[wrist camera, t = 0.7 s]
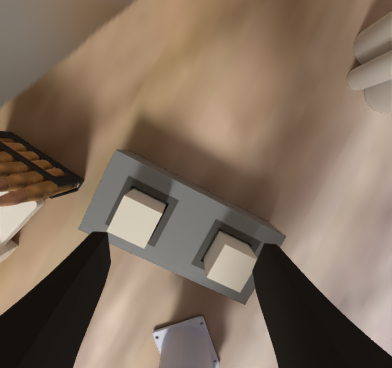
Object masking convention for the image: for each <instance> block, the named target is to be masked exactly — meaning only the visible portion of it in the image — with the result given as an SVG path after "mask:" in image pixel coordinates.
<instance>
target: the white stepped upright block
mask: <svg viewBox="0 0 392 368" xmlns="http://www.w3.org/2000/svg"><path fill="white" fill-rule="evenodd" d="M354 53H355V57H356V59H357V60H358V62H359V63H360V64H361V65H360V66H358V67H356V68H354V69H353V70H351V71H350V72H349V74H348V76H347V82H348V85H349V87H350V88H351V89H353V90H355V91H359V90H362V89H365V91H364V92H365V99H366V101H367V103H368V105H369V107H370V108H372V109H373V110H374V111H376V112H378V113H392V11H391V12H389V13H388V14H386V15H385V16H383V17H382V18H380V19H379V20H377V21H376V22H375V23H373V24H372V25H370V26H369V27H367V28H366V29H364V30H363V31H361V32H360V33H359V34H358V36H357V37H356V39H355V42H354Z"/></svg>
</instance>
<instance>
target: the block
mask: <svg viewBox="0 0 392 368" xmlns="http://www.w3.org/2000/svg"><path fill="white" fill-rule="evenodd" d="M135 187H136V188H138V189H140V190H142V191H144V192H146V193H148V194H151V195H153V196H155V197H157V198H159V199H161V200H163V201H165V202H167V203H168V204H167V206H166V207H165V209H164V211H163V214H162V216H161V218H160V219H159V221H158V223H157V225H156V227H155V229H154V231H153V233H152V235H151V237H150V239H149V241H148V243H147V244H146V246H145V248H141V247H139V246H137V245H135V244H133V243H130V242H128V241H126V240H124V239H122V238H120V237H117V236H115V235H113V234H111V233H109V232H108V239H109V243H110V244H112V245H114V246H116V247H119V248H121V249H123V250H125V251H127V252H130V253H132V254H134V255H136V256H138V257H141V258H143V259H145V260H147V261H149V262H152V263H154V264H156V265H158V266H161V267H163V268H165V269H167V270H169V271H172V272H174V273H176V274H178V275H180V276H183V277H185V278H187V279H189V280H191V281H194V282H196V283H198V284H200V285H203V286H205V287H207V288H209V289H211V290H214V291H216V292H218V293H220V294H222V295H225V296H227V297H229V298H231V299H233V300H236V301H238V302H240V303H242V304H246V302H247V301H248V299H249V297H250V296H251V294H252V292H253V291H254V289H255V284H254V279H253V273H251V275H250V277H249V278H248V280H247V282H246V284H245V285H244V287H243V289H242V290H241V292H240V293H239V292H237V291H235V290H233V289H231V288H229V287H226V286H224V285H222V284H220V283H218V282H215V281H213V280H211V279H209V278H207V277H206V272H205V266H204V260H203V255H204V253H205V252H206V250H207V248H208V246H209V244H210V243H211V241H212V239H213V237H214V236H215V234H216V232H217V230H218V228H219V229H221V230H223V231H225V232H227V233H229V234H232V235H234V236H236V237H237V238H239V239H241V240H243V241H245V242H247V244H248V245H249V247H250V248H251V250H252V251H253V253H254V254H255V256H256V257H257V258H258V256H259V254H260V251H261V249H262V247H263V245H264V243H269V244H277V245H278V246H279V247H280V246H281V244H282V243H283V241H284V239H285V238H286V236H285V235H283V234H282V233H281V232H280V231H279V230H277V229H276V228H275V227H274V226H273V225H272V224H270V223H269V222H267V221H265V220H263V219H261V218H259V217H257V216H255V215H253V214H251V213H249V212H248V211H246V210H244V209H242V208H240V207H238V206H236V205H234V204H232V203H230V202H228V201H226V200H224V199H222V198H220V197H218V196H216V195H214V194H213V193H211V192H209V191H207V190H205V189H203V188H201V187H199V186H197V185H195V184H193V183H191V182H189V181H187V180H185V179H183V178H181V177H179V176H178V175H176V174H174V173H172V172H170V171H168V170H166V169H164V168H162V167H160V166H158V165H156V164H154V163H152V162H150V161H148V160H146V159H144V158H142V157H141V156H139V155H137V154H135V153H133V152H131V151H129V150H115V152H114V154H113V156H112V158H111V160H110V162H109V165H108V167H107V169H106V171H105V173H104V175H103V177H102V179H101V181H100V184H99V186H98V188H97V190H96V192H95V194H94V196H93V198H92V201H91V203H90V205H89V207H88V209H87V211H86V213H85V215H84V217H83V220H82V222H81V224H80V226H79V228H78V229H79V230H81V231H83V232H85V233H88V234H90V233H92V232H93V231H98V232H106V231H107V229H108V227H109V225H110V223H111V221H112V219H113V217H114V215H115V213H116V211H117V209H118V207H119V205H120V203H121V201H122V199H123V197H124V195H125V194H127V193H128V192H130V191H131V190H132V189H134V188H135Z"/></svg>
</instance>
